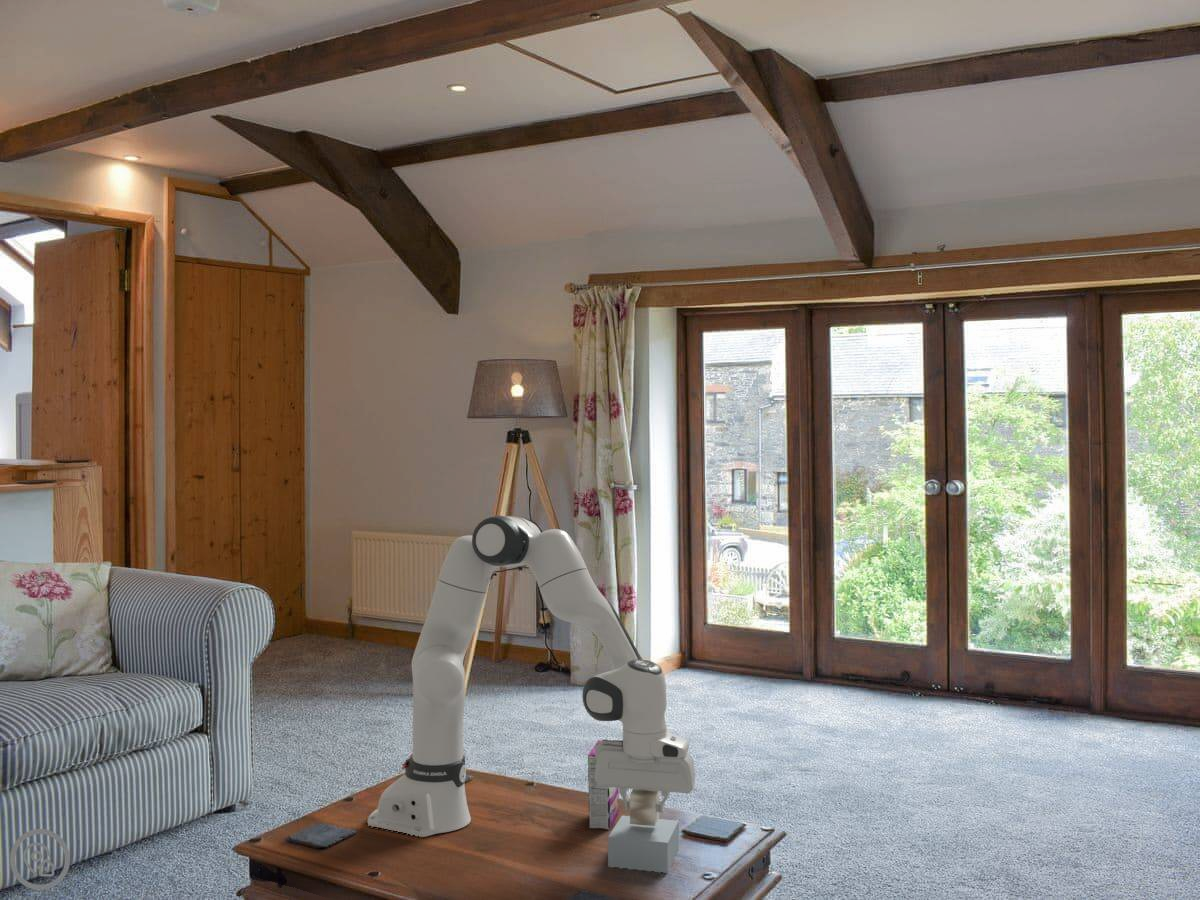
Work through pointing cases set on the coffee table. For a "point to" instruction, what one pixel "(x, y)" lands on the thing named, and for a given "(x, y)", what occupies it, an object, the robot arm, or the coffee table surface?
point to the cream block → (643, 807)
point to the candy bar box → (601, 798)
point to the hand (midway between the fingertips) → (644, 810)
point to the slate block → (643, 845)
